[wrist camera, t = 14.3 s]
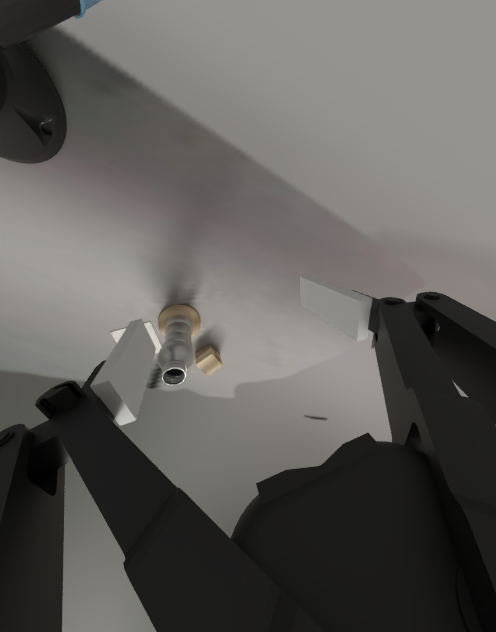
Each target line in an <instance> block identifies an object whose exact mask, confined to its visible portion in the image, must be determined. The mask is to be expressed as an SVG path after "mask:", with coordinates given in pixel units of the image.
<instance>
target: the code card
mask: <svg viewBox="0 0 496 632" xmlns="http://www.w3.org/2000/svg"><path fill="white" fill-rule="evenodd" d="M144 325H145V327H146V329H147V331H148V333H149V335H150V337H151V339H152V341H153V343H154V345H155V347H156V350H155V353H158V352H159V350H160V349H161V347H162V346H161V344H160V342H159V340H158V338H157V335H156V333H155V331H154V329H153V327H152V325H151V323H150V322H146V323H144ZM125 330H126V328H124V329H120V330H117V331H113V332H111V334H112V336H113V337H114V339H115V341H116V342H117V343H118V341H119V339H120V338H121V336H122V335H123V333H124V332H125Z"/></svg>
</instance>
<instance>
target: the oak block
mask: <svg viewBox="0 0 496 632" xmlns="http://www.w3.org/2000/svg"><path fill="white" fill-rule="evenodd" d="M195 357H196V365H197V366H198V367H199V368H200V369H201V370H202V371H203V372H204V373H205V374H206V375H207V376H208V375H209V374H211V373H212V372H214V371H215V370H217V369H218V368H220V367H221V366H222V361H221V357H220V355H219V353H218V352H217V351H216V350H215V349H214V348H213V347H212V346H211V345H210V344H209V345H208V346H206V347H205V348H203V349H202V350H200V351H199V352H197V353H196V354H195Z"/></svg>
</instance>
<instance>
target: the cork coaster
mask: <svg viewBox="0 0 496 632" xmlns="http://www.w3.org/2000/svg"><path fill="white" fill-rule="evenodd" d="M175 315H184V316H187V317H188V318H189V319H190V320H191V321H192V323H193V333H192V335H191V338H192V337H193V336H194V335H195V334H196V333H197V332H198V330H199V328H200V318H199V315H198V314H197V312H196V311H195V310H194V309H192V308H191V307H189V306H186V305H180V304H178V305H172V306H170V307H168V308H166V309H165V310H164V311H163V312H162V313H161V315H160V317H159V322H158V325H159V329H160V331H161V332H162V334H163V335H164V336H165V333H164V326H165V323H166V322H167V321H168V319H169V318H171V317H172V316H175Z"/></svg>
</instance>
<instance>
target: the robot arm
mask: <svg viewBox="0 0 496 632" xmlns="http://www.w3.org/2000/svg"><path fill="white" fill-rule="evenodd" d="M100 1H101V0H0V157H2V158H5V159H8V160H11V161H15V162H20V163H39V162H43V161H46V160H48V159H50V158H52V157H53V156H55V155H56V154H57V153H58V152H59V150H60V149H61V147H62V145H63V143H64V140H65V136H66V117H65V112H64V108H63V105H62V102H61V99H60V97H59V94H58V92H57V90H56V88H55V87H54V85H53V83H52V81H51V80H50V78H49V77H48V75H47V74H46V72H45V71H44V70H43V68H42V67H41V66H40V65H39V63H38V62H37V61H36V60H35V59H34V58H33V57H32V55H31V54H30V53H29V52H28V51H27V50H26V49H25V48H24V47H23V46H22V45H21V44H20V43H21V42H23V41H25V40H27V39H29V38H31V37H33V36H35V35H37V34H39V33H41V32H43V31H45V30H47V29H49V28H51V27H53V26H55V25H57V24H59V23H61V22H63V21H65V20H66V19H69V18H70V17H72V16H74V17H75V18H81V17H83V15H84V13H85V11H86V10H87V9H88V8H90V7H91V6H93V5H95V4H96V3H98V2H100ZM300 287H301V305H302V306H303V307H305V308H306V309H308V310H309V311H311V312H312V313H314V314H315V315H317V316H318V317H320V318H321V319H323V320H325V321H326V322H328V323H329V324H331V325H332V326H334V327H335V328H337V329H338V330H340V331H341V332H343V333H344V334H346V335H347V336H349V337H350V338H352V339H353V340H355V341H356V342H359V341H361V340H364V339H367V337H368V330H370V331H372V332H374V335H373V341H372V348H374V346H375V351H376V356H377V362H378V367H379V371H380V377H381V382H382V387H383V393H384V397H385V403H386V408H387V413H388V419H389V423H390V428H391V433H392V442H383V441H382V442H380V441H375V440H374V439H373V437H372V436H371V435H370V434H369V433H366V434H364V435H362V436H360V437H358V438H355V439H353V440H351V441H349V442H346V443H345V444H343V445H342V446H341V447H340V448H339V449H337V451H335V452H334V454H332V455H331V456H330V457H329V458H328V459H327V460H326V461H325V462H324V463H323V464H322V465H320V466H317V467H308V468H299V469H290V470H285V471H283V472H281V473H278V474H276V475H274V476H272V477H270V478H268V479H265V480H263V481H261V482H259V483H256V485H257V488H258V492H259V494H258V495H257V496H256V497H255V498H254V499H253V500H252V502H251V503H250V504H249V505H248V506H247V507H246V509H245V511H244V512H243V513H242V515H241V517H240V519H239V520H238V523H237V524H236V526H235V529H234V531H233V534H232V536H231V539H230V538H229V537H228V536H227V535H226V534H225V533H224V532H223V531H222V530H221V529H220V528H219V527H218V526H217V525H216V524H215V523H214V522H213V521H212V520H211V519H210V518H209V517H208V516H207V515H206V514H205V513H204V512H203V511H202V510H201V509H200V507H199V506H197V504H196V503H195V502H194V501H193V500H191V498H190V497H189V496H188V495H187V494H186V493H185V492H183V491H182V490H181V489H180V488H177V487H176V486H175V485H174V484H173V483H172V482H171V481H170V480H169V479H168V478H167V477H166V476H165V475H164V474H163V473H162V472H161V471H160V470H159V469H158V468H157V467H156V466H155V465H154V464H153V463H152V462H151V461H150V460H149V459H148V458H147V457H146V456H145V454H144V453H143V452H142V451H140V450H139V448H138V447H137V446H136V445H135V444H134V443H133V442H132V441H131V440H130V439H129V438H128V437H127V436H126V435H125V434H124V433H123V432H122V431H121V430H120V429H119V428H118V427H117V426H116V425H115V424H114V423H113V420H114V418H115V420H116V421H117V422H118V423H119V425H120V426H121V425H124V424H126V423H129V422H132V421H135V420H136V419H137V416H138V412H139V408H140V405H141V401H142V397H143V394H144V390H145V387H146V383H147V379H148V376H149V372H150V369H151V365H152V361H153V358H154V354H155V350H156V347H155V345H154V343H153V341H152V339H151V337H150V335H149V333H148V331H147V329H146V327H145V325H144V323H143V321H142V319H139V320H135V321H132V322H130V324H129V325H128V327H127V328H126V330H125V332H124V333H123V335H122V336H121V338H120V339H119V341H118V343H117V344H116V346H115V347H114V349H113V351H112V352H111V354H110V355H109V357H108V358H107V360H105V361H102V362H101V363H100V364H99V365H98V366H97V367H96V368H95V369H94V370H93V372H92V373H91V375H90V376H89V378H88V379H87V380H88V381H86V382H85V384H84V385H83V387H82V388H80V387H79V385H78V384H77V383H76V382H75V381H67V382H64V383H61V384H59V385H57V386H55V387H53V388H51V389H50V390H49V391H47V392H46V393H44V394H43V395H42V396H41V397H39V399H38V400H37V402H36V404H35V406H36V407H37V408H38V409H39V410H40V411H41V412H42V413H43V414H44V415H45V416H46V417H47V418H48V419H49V420H48V421H46V422H44V423H42V424H40V425H38V426H36V427H34V428H32V429H28V428H27V427H26V426H25V425H24V424H17V425H13V426H11V427H9V428H7V429H5V430H3V431H1V432H0V632H62V596H63V593H62V591H63V540H64V537H63V536H64V484H65V482H64V481H65V464H67V463H68V462H70V461H71V460H72V461H73V463H74V465H75V467H76V468H77V470H78V472H79V474H80V476H81V477H82V479H83V481H84V483H85V485H86V487H87V488H88V490H89V492H90V494H91V495H92V497H93V499H94V501H95V502H96V504H97V506H98V508H99V510H100V512H101V513H102V515H103V517H104V519H105V521H106V522H107V524H108V526H109V528H110V530H111V531H112V533H113V535H114V537H115V539H116V540H117V542H118V544H119V546H120V547H121V549H122V551H123V553H124V555H125V561H124V563H123V564H124V568H125V571H126V573H127V576H128V578H129V580H130V582H131V584H132V586H133V588H134V590H135V591H136V593H137V595H138V597H139V599H140V601H141V603H142V605H143V607H144V608H145V610H146V612H147V614H148V616H149V617H150V620H151V622H152V624H153V626H154V627H155V629H156V631H157V632H496V322H495V321H493V320H491V319H489V318H488V317H486V316H484V315H482V314H480V313H478V312H476V311H474V310H472V309H471V308H469V307H467V306H465V305H463V304H461V303H459V302H457V301H456V300H454V299H452V298H450V297H448V296H446V295H444V294H440V293H437V292H424V293H419V294H417V297H416V301H415V302H408V303H406V301H404V300H402V299H399V298H393V297H387V298H381V299H376V298H373V297H370V296H368V295H364V294H362V293H359V292H357V291H354V290H349V289H346V288H344V287H341V286H338V285H336V284H333V283H330V282H327V281H325V280H322V279H319V278H316V277H314V276H311V275H308V274H307V275H303V276H300ZM439 327H440V328H439ZM438 329H439V330H438ZM451 379H452V380H451ZM452 381H454V383H456V385H457V386H459V388H460V389H461V390H462V391H463V392H464V393H465V394H466V395H467V396H468V397H469V398H468V397H462V396H461V395H460V394H459V392H458V390H457V388H456V387H455V385H454V383H453V382H452Z"/></svg>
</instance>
